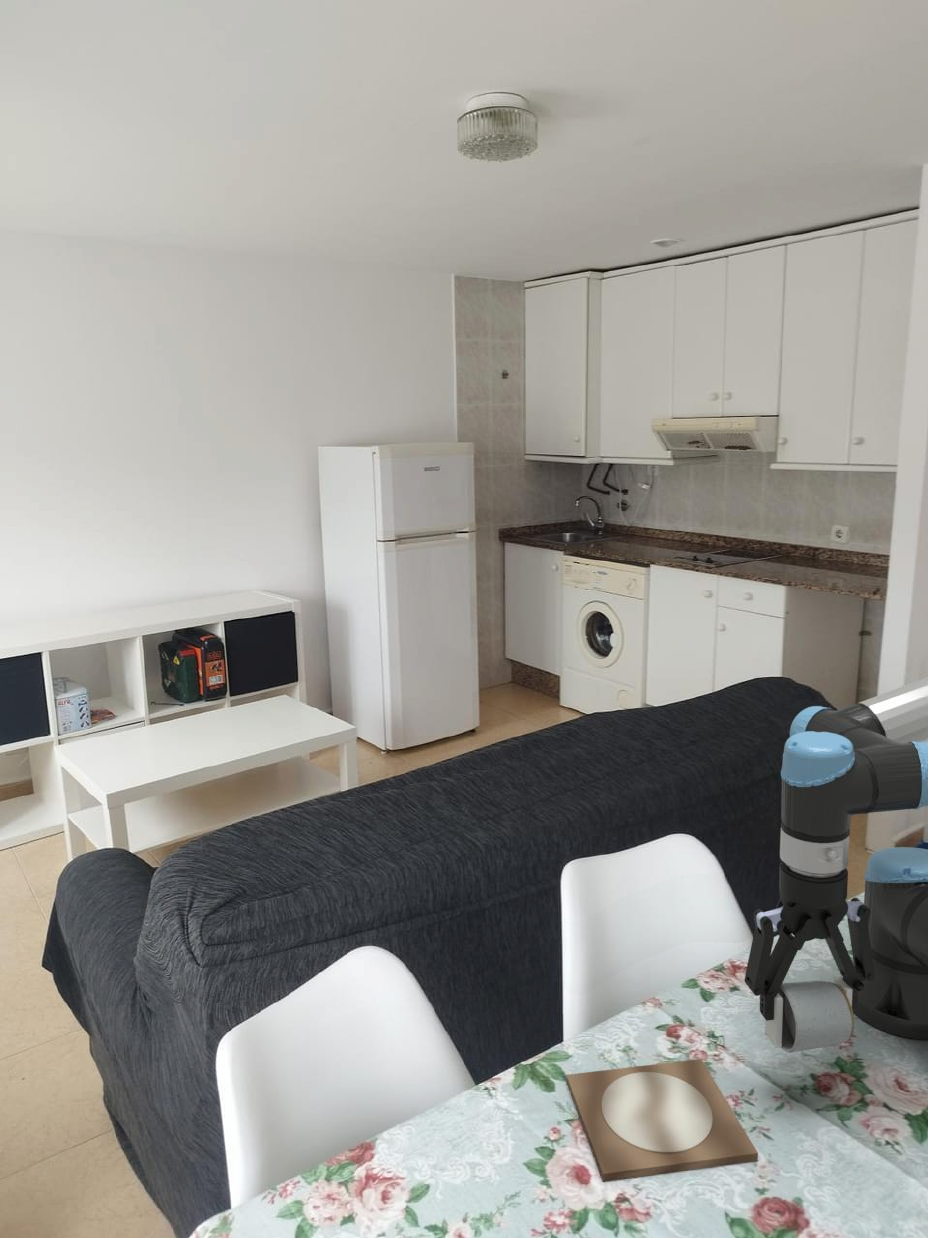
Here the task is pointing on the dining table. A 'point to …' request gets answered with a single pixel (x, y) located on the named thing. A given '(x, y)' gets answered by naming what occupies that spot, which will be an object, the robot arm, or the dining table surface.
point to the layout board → (657, 1120)
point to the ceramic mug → (814, 1015)
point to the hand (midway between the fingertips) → (807, 1035)
